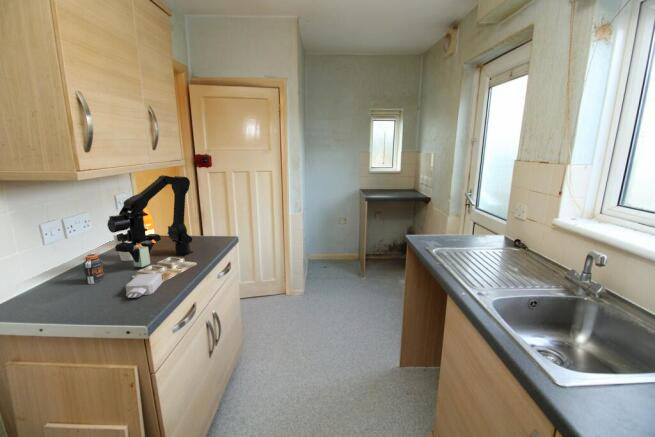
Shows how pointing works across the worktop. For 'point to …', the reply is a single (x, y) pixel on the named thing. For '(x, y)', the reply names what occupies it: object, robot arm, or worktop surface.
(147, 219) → the orange juice
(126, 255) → the foam cup
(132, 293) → the charger
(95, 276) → the pill bottle
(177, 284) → the worktop surface
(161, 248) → the worktop surface
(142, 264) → the plug
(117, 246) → the robot arm
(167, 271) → the socket board
